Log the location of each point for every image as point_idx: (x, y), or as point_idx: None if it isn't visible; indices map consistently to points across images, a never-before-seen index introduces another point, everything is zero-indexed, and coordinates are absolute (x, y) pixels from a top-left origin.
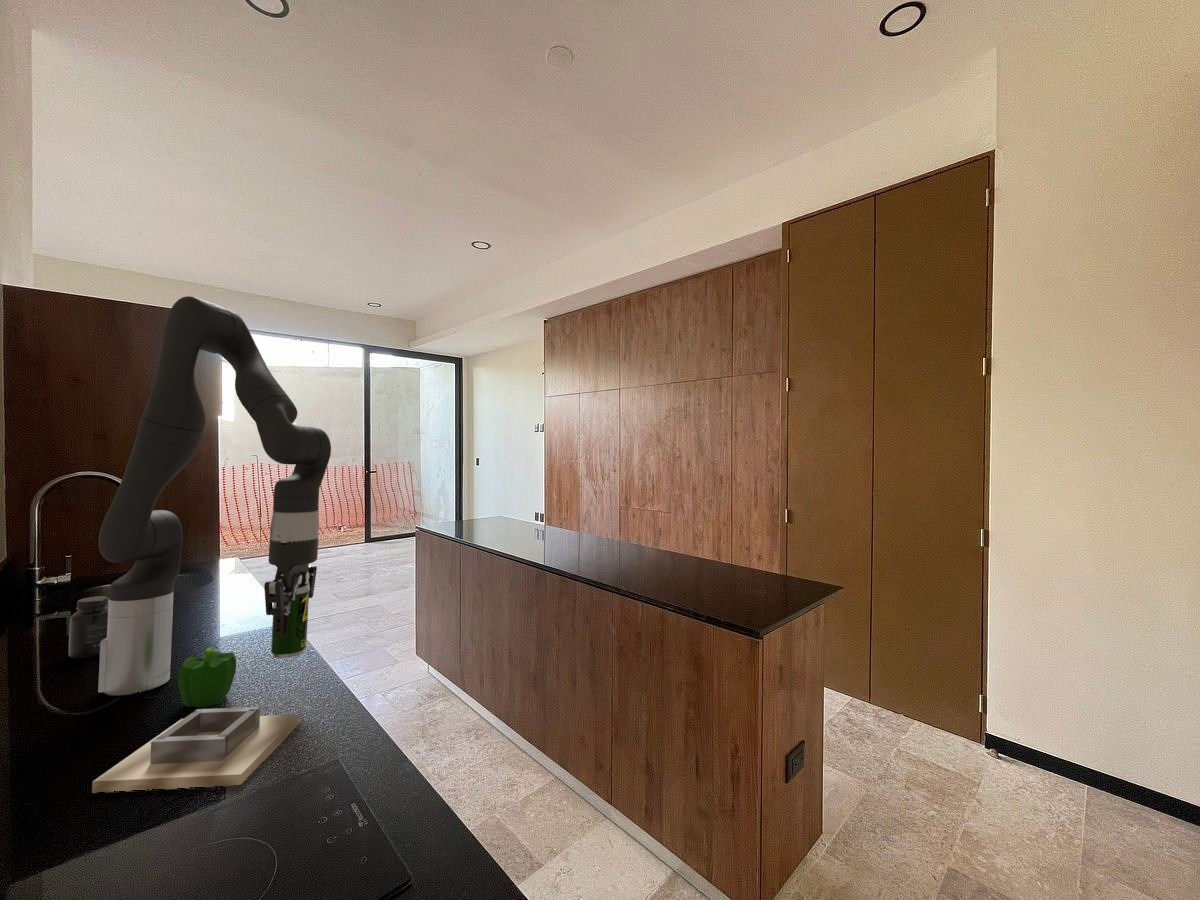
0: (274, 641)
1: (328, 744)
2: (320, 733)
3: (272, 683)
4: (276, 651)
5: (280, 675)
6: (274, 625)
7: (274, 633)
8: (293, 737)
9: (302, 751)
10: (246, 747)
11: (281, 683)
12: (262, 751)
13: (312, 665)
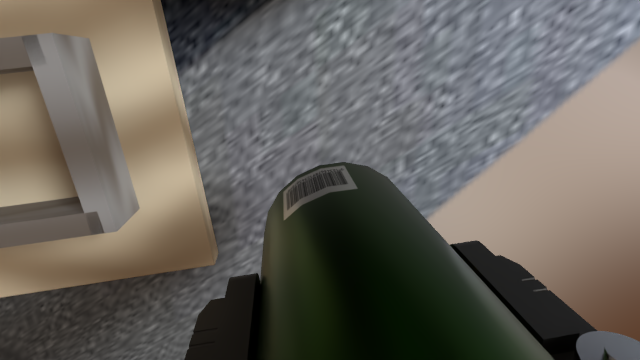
0: (267, 237)
1: (146, 355)
2: (184, 318)
3: (453, 26)
4: (265, 228)
5: (514, 12)
6: (186, 355)
7: (206, 308)
8: (158, 275)
9: (110, 324)
10: (40, 245)
11: (451, 56)
12: (34, 290)
13: (580, 74)
